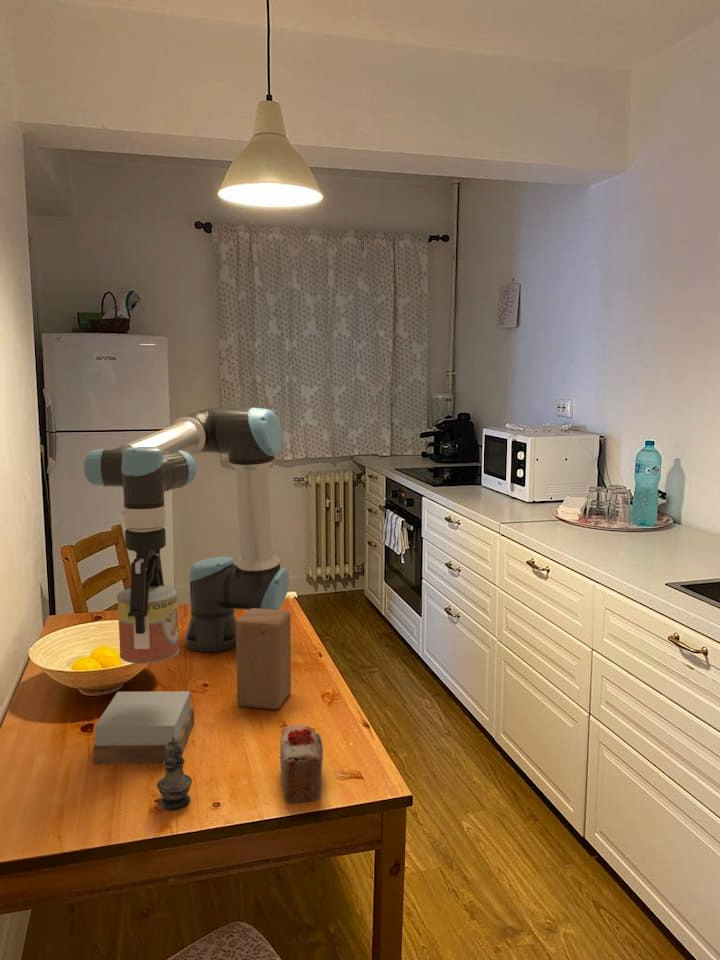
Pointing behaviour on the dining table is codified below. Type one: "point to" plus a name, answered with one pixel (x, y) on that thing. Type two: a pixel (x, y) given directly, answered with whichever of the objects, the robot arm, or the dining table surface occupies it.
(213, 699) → the dining table surface
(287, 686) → the wooden block
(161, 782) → the dark chess piece
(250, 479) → the robot arm
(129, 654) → the canned food
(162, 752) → the walnut block
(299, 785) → the food item
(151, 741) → the grey block
